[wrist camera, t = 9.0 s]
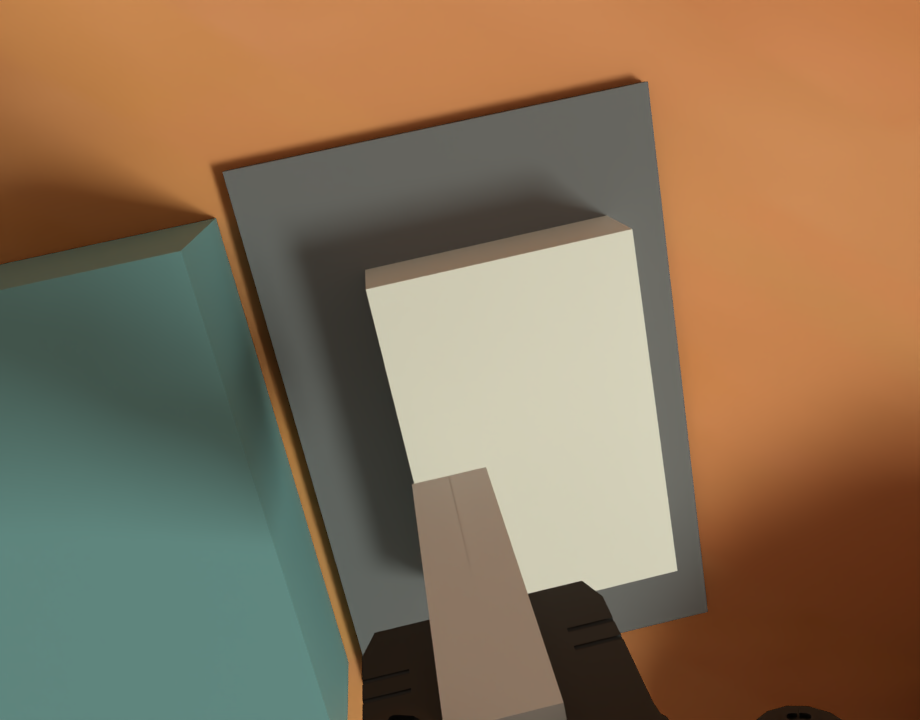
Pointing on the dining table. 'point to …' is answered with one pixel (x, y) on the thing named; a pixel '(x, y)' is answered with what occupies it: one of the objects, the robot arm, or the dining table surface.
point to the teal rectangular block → (150, 499)
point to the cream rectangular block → (536, 394)
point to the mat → (431, 232)
